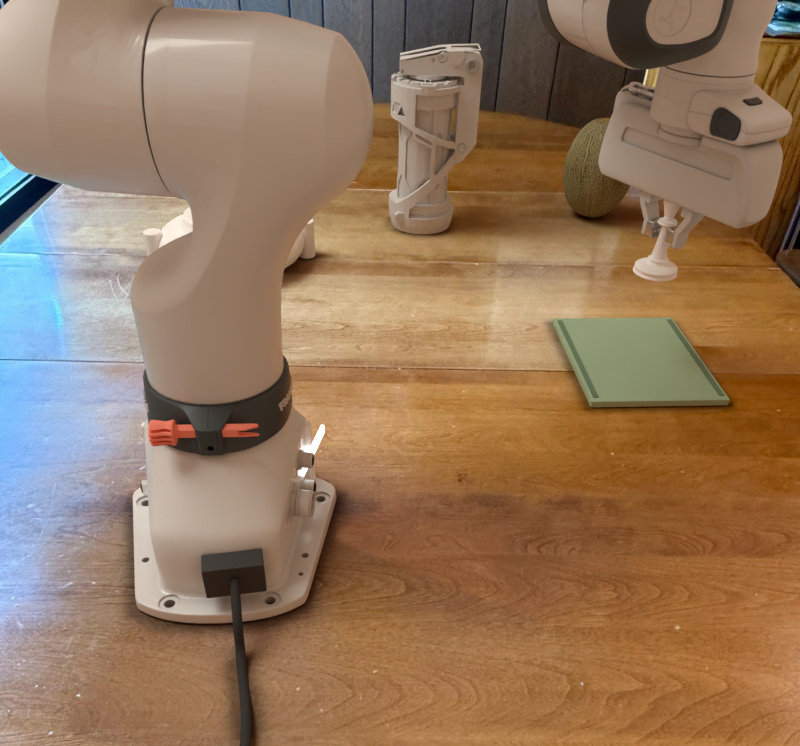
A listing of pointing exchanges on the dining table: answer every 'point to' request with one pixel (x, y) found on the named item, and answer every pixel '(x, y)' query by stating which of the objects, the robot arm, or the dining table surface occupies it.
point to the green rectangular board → (637, 363)
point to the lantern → (432, 131)
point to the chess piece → (660, 251)
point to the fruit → (590, 174)
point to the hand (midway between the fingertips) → (662, 241)
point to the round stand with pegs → (184, 225)
